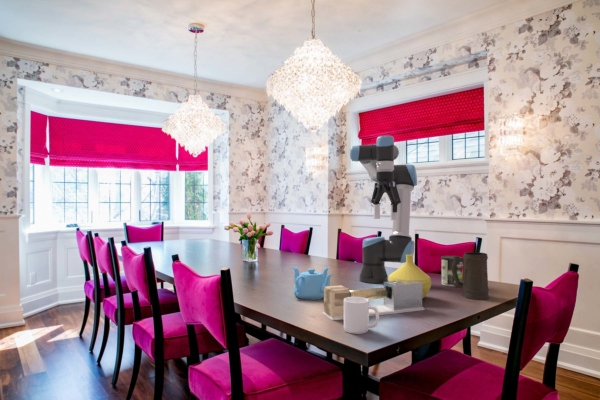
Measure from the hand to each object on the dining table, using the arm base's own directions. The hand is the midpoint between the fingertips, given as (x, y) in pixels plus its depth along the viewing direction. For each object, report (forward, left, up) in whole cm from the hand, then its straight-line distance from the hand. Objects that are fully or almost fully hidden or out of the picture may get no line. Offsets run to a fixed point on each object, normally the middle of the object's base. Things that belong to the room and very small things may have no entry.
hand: (385, 219), depth 175 cm
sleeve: (+17, -3, -35) cm, 39 cm away
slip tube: (+17, -21, -30) cm, 40 cm away
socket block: (+17, -31, -35) cm, 50 cm away
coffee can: (-13, +48, -35) cm, 61 cm away
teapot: (-15, -28, -35) cm, 47 cm away
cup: (+35, -31, -35) cm, 58 cm away
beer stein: (+10, +38, -35) cm, 53 cm away
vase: (+4, +10, -35) cm, 37 cm away
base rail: (+17, -16, -35) cm, 42 cm away
